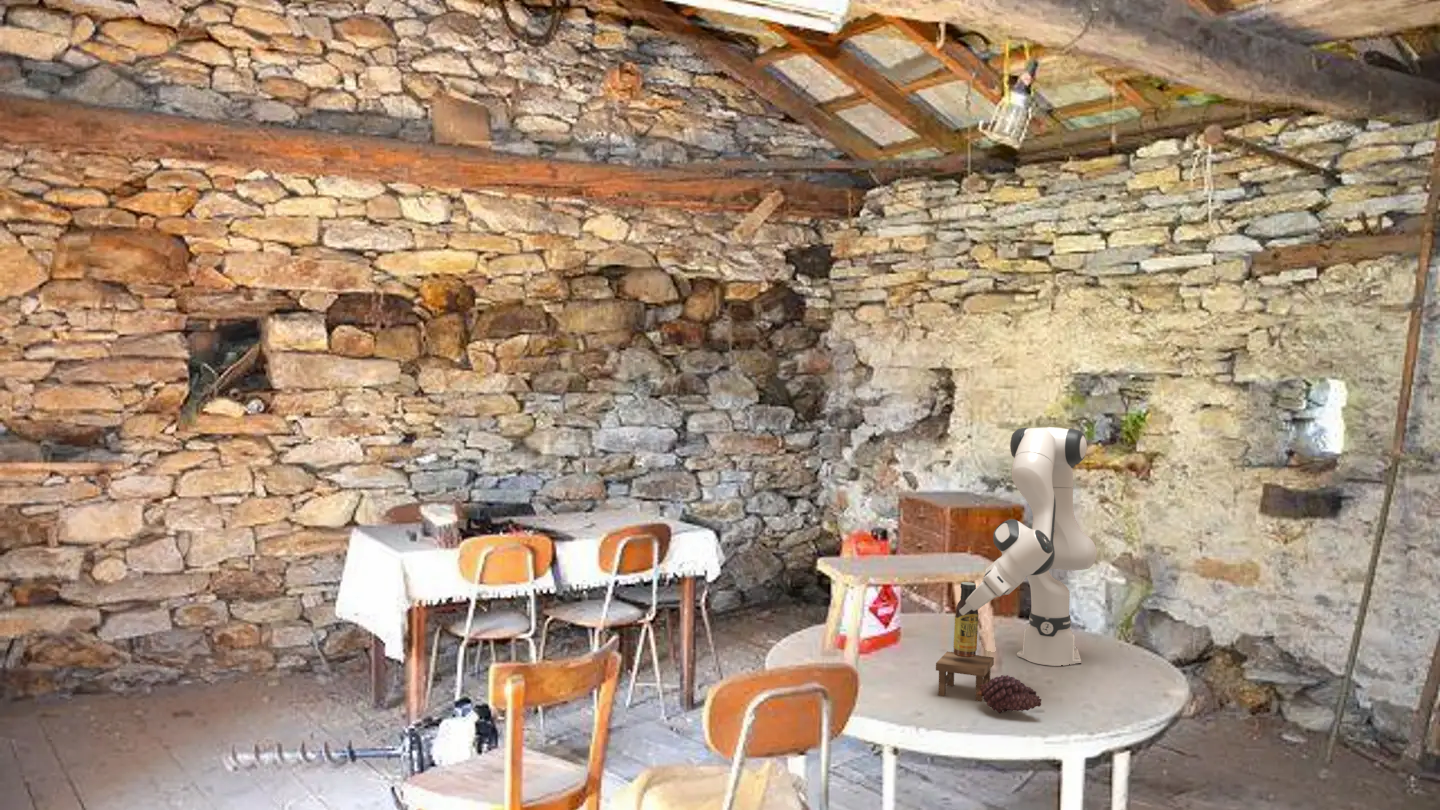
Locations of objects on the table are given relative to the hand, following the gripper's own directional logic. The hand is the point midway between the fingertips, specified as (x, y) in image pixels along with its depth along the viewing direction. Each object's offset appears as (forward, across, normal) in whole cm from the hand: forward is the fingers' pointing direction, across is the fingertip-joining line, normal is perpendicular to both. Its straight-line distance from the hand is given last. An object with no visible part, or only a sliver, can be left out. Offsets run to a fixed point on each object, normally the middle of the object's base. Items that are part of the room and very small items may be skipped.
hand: (964, 610), depth 300 cm
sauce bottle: (+8, 0, +9) cm, 13 cm away
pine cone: (+6, +13, +26) cm, 30 cm away
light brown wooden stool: (+16, 0, +16) cm, 23 cm away
